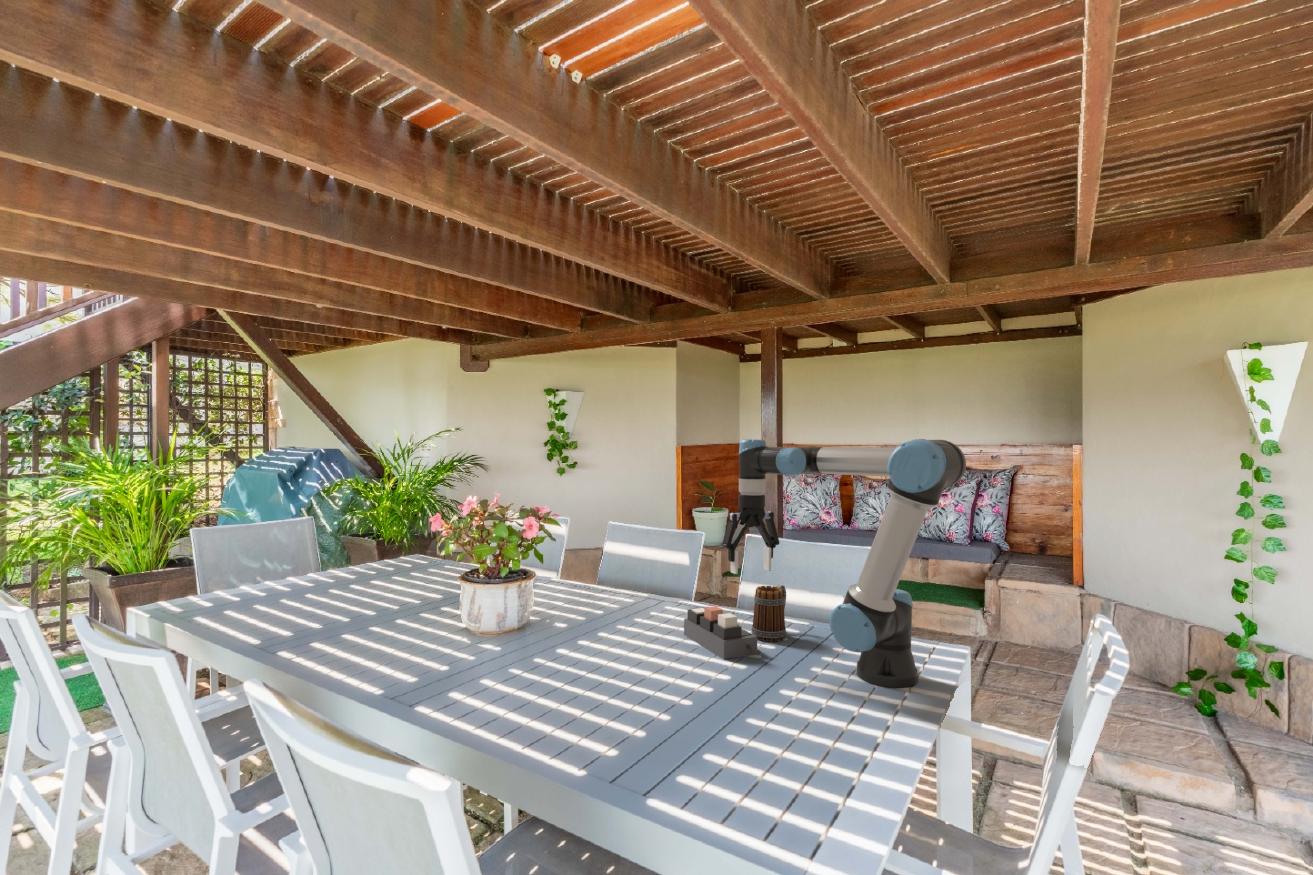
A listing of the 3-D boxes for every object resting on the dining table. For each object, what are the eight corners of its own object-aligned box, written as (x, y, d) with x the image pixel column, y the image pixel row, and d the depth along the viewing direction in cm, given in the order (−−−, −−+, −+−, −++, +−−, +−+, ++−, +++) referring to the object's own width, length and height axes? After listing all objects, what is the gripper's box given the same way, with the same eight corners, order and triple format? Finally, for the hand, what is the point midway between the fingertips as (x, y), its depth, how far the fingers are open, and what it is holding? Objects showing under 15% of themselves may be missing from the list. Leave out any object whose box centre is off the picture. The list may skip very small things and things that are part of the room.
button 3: (709, 620, 200) (709, 611, 200) (697, 622, 199) (697, 612, 199) (702, 617, 204) (702, 607, 204) (691, 618, 202) (691, 609, 202)
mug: (776, 644, 195) (777, 594, 195) (745, 637, 201) (745, 589, 201) (798, 632, 207) (799, 585, 207) (768, 626, 214) (769, 580, 214)
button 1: (737, 627, 186) (737, 616, 186) (725, 628, 184) (725, 618, 184) (729, 623, 190) (729, 613, 189) (717, 624, 188) (718, 614, 188)
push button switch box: (768, 660, 182) (768, 631, 181) (734, 665, 177) (734, 636, 177) (714, 630, 208) (714, 605, 208) (683, 634, 204) (684, 609, 203)
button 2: (722, 619, 193) (722, 609, 193) (710, 621, 191) (711, 610, 191) (715, 616, 197) (715, 606, 197) (704, 617, 195) (704, 607, 195)
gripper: (777, 491, 193) (776, 565, 194) (710, 493, 184) (709, 572, 184) (793, 493, 187) (791, 570, 187) (723, 496, 177) (722, 577, 177)
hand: (750, 571), depth 185 cm, fingers open, 10 cm apart
